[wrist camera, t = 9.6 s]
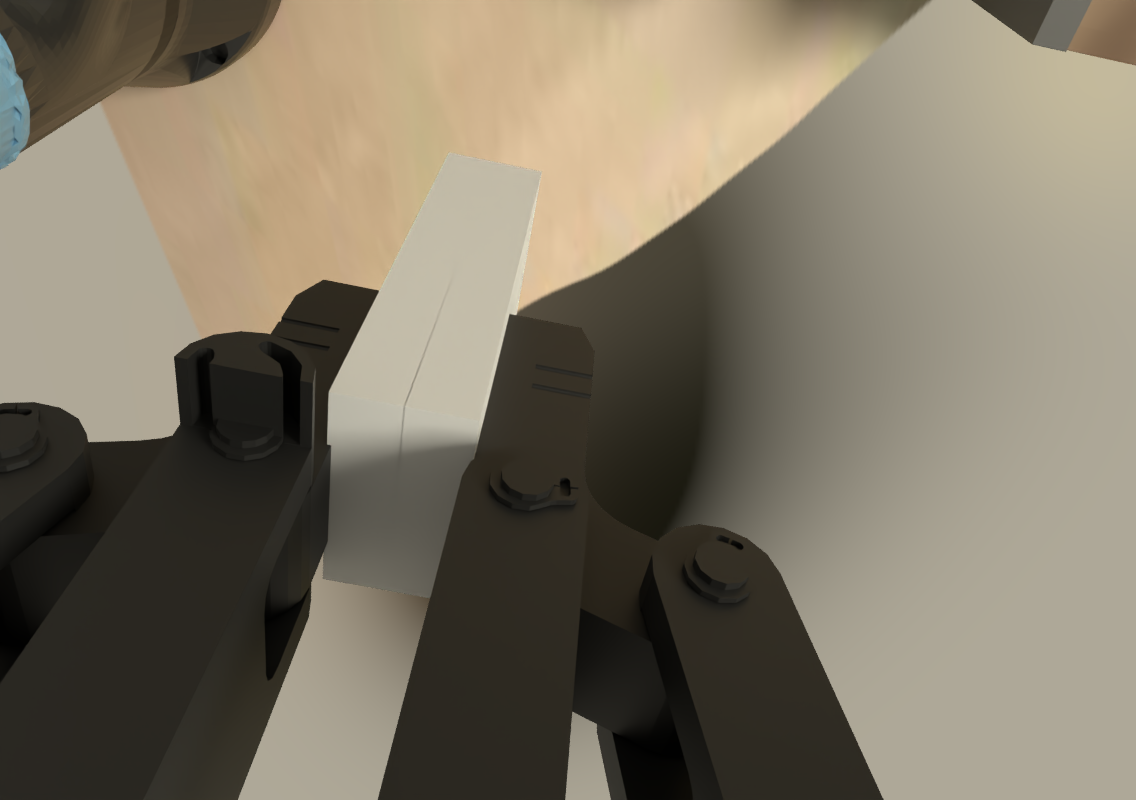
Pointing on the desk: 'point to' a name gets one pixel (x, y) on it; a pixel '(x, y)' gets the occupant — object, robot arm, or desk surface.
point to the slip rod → (1040, 19)
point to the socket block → (1108, 31)
